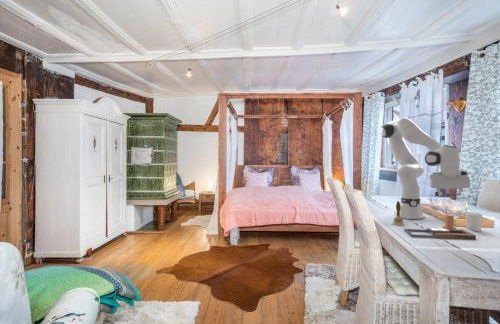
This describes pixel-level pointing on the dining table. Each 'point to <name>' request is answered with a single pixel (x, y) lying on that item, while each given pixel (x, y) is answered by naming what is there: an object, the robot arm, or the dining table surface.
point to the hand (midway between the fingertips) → (449, 195)
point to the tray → (418, 231)
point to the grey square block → (434, 231)
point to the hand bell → (398, 216)
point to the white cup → (474, 221)
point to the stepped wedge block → (449, 222)
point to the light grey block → (444, 231)
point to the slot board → (455, 234)
